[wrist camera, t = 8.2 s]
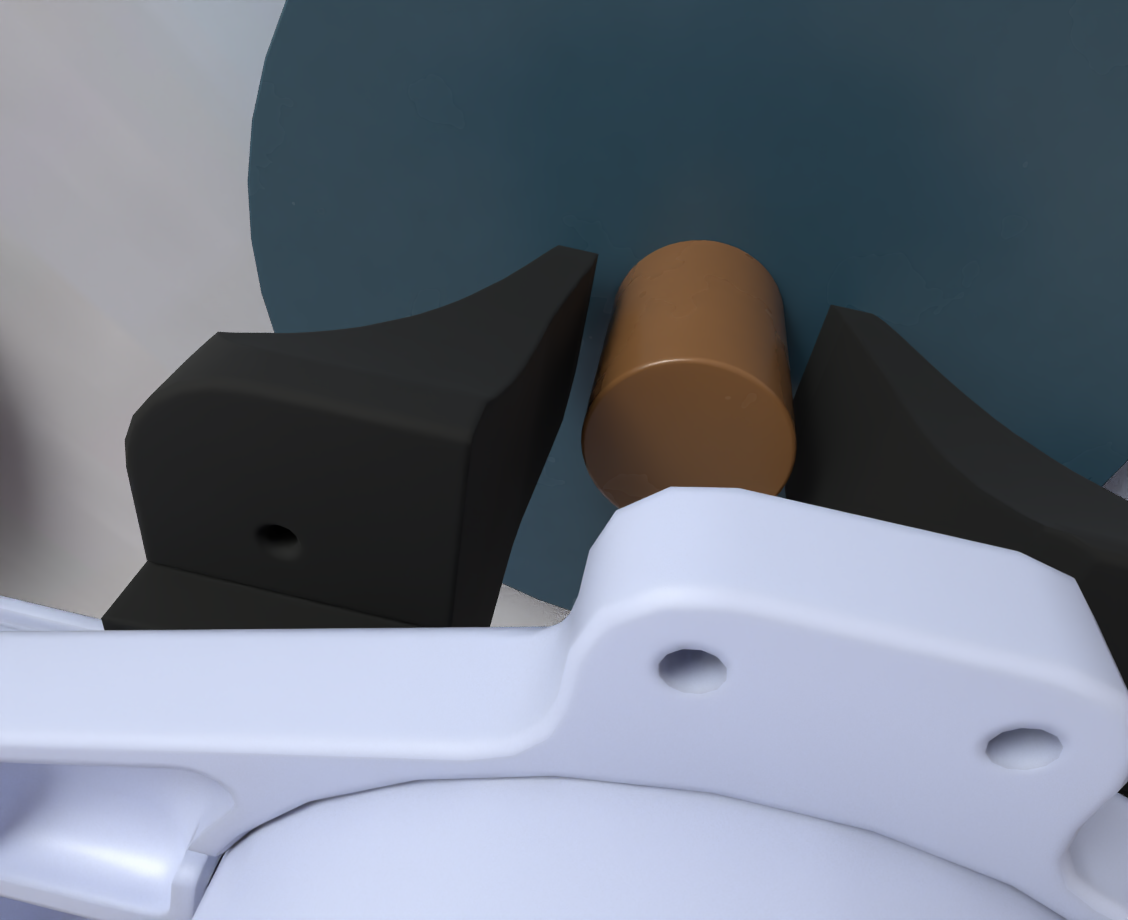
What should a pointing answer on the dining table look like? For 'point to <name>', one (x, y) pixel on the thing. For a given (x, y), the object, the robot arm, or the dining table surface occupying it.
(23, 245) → the dining table surface
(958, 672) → the robot arm
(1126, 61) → the pan lid
